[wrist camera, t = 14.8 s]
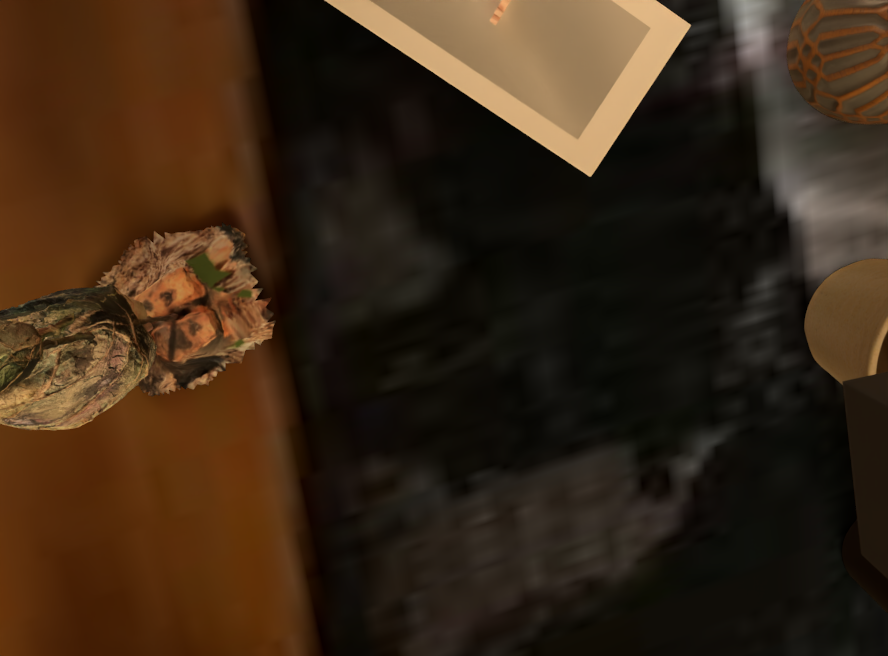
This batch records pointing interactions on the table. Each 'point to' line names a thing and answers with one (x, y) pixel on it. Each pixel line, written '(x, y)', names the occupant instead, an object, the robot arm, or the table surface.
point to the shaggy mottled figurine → (132, 330)
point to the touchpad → (537, 60)
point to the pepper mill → (864, 568)
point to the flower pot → (851, 321)
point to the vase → (842, 58)
